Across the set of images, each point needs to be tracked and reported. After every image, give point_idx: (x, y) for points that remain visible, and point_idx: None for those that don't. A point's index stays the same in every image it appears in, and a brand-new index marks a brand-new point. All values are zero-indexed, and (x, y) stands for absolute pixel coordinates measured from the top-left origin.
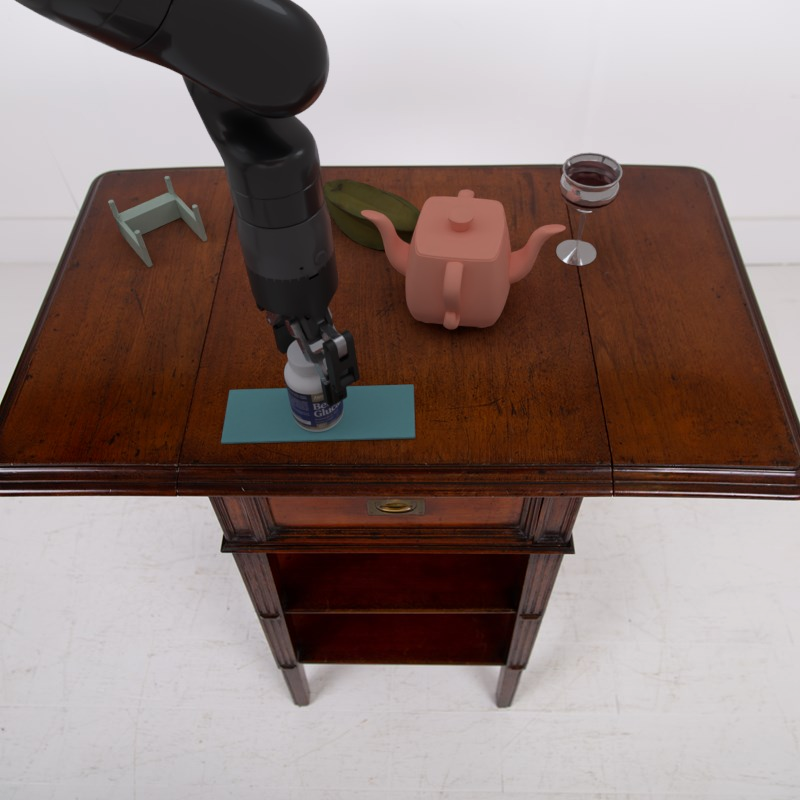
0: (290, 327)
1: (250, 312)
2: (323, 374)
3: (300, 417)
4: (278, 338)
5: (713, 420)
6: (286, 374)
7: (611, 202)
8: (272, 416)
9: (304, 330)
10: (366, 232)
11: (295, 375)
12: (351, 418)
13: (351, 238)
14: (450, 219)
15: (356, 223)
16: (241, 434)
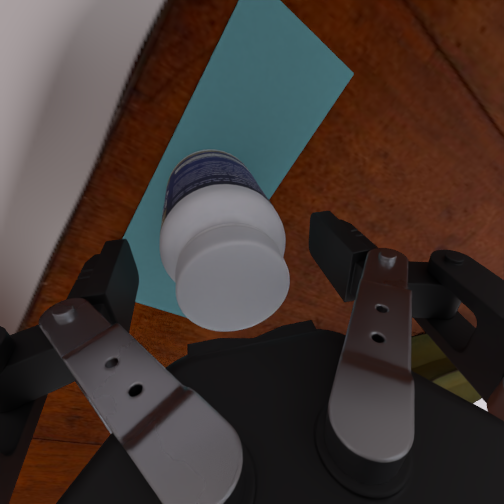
0: (178, 474)
1: (448, 187)
2: (47, 337)
3: (191, 162)
4: (335, 237)
5: (12, 493)
6: (239, 199)
7: None
8: (249, 117)
9: (128, 498)
10: (417, 357)
11: (216, 218)
12: None
13: (426, 334)
14: None
15: (436, 356)
16: (245, 33)
